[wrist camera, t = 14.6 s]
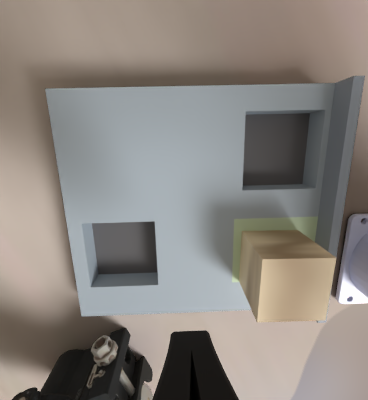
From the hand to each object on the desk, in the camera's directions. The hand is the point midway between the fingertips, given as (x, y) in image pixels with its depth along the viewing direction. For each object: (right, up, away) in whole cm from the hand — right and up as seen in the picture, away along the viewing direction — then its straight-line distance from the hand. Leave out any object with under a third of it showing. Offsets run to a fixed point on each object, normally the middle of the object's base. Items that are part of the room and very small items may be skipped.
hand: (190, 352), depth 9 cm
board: (+1, +5, +9) cm, 10 cm away
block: (+6, +2, +8) cm, 10 cm away
